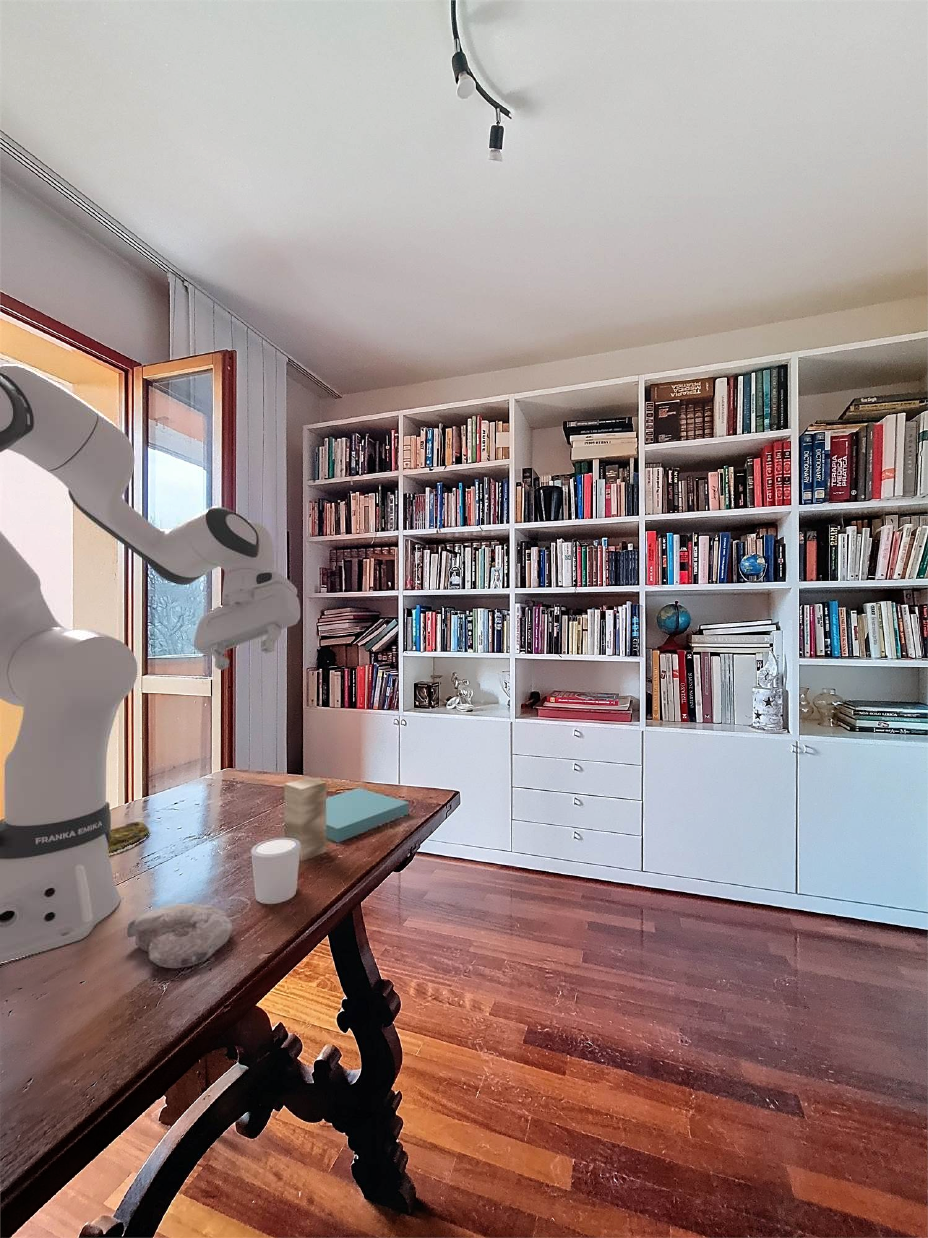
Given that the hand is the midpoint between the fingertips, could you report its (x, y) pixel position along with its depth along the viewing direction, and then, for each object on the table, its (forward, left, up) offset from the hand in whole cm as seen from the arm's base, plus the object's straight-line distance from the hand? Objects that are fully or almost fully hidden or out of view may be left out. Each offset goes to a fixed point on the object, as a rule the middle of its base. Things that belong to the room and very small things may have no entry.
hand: (244, 659), depth 92 cm
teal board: (+22, 0, -34) cm, 40 cm away
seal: (-12, +24, -34) cm, 43 cm away
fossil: (-18, -19, -34) cm, 43 cm away
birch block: (+7, -7, -34) cm, 35 cm away
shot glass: (-4, -16, -34) cm, 38 cm away
